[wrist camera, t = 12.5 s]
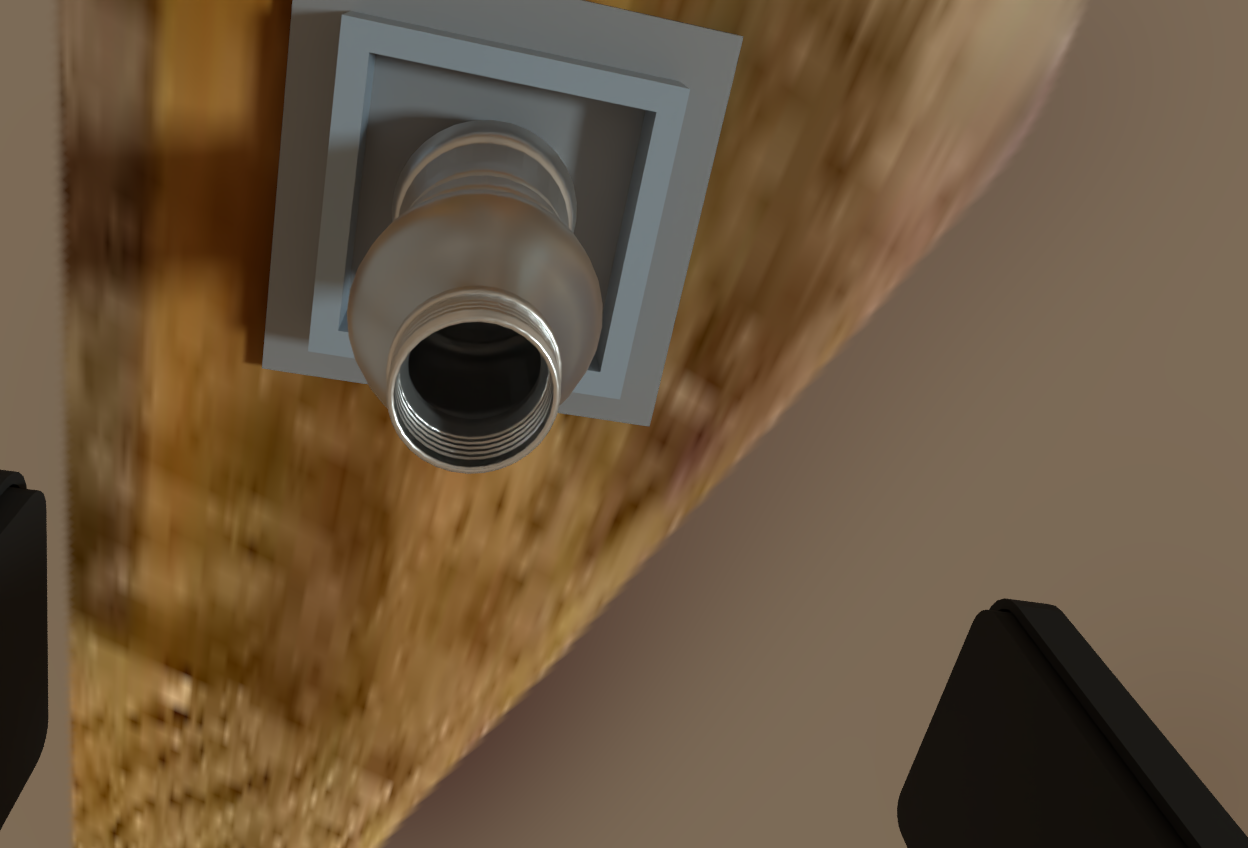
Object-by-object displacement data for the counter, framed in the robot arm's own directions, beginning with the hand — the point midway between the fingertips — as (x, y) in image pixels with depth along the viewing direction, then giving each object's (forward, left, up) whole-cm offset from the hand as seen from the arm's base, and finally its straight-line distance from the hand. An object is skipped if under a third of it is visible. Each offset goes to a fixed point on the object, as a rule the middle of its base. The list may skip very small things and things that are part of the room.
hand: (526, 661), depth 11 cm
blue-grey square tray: (+3, 0, -33) cm, 33 cm away
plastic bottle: (+2, 0, -32) cm, 32 cm away
